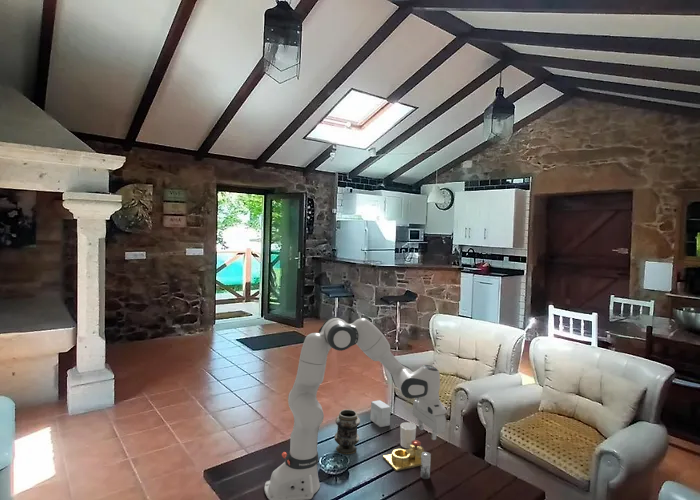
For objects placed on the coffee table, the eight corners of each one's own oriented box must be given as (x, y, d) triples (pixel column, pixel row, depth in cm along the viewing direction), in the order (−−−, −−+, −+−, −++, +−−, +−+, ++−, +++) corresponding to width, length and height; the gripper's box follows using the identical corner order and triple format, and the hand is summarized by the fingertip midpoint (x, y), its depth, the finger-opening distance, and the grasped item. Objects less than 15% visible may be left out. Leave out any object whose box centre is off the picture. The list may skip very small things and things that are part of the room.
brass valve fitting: (395, 471, 195) (396, 454, 194) (382, 457, 206) (383, 441, 205) (428, 463, 202) (429, 447, 202) (414, 451, 213) (415, 435, 212)
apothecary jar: (358, 456, 206) (360, 419, 205) (333, 455, 206) (334, 417, 205) (358, 443, 218) (360, 408, 217) (334, 442, 218) (335, 407, 217)
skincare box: (390, 425, 239) (391, 406, 239) (380, 427, 236) (381, 408, 236) (379, 417, 249) (380, 399, 248) (369, 419, 245) (370, 401, 245)
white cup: (397, 446, 217) (397, 426, 216) (402, 439, 224) (403, 420, 223) (412, 451, 213) (413, 431, 212) (417, 444, 220) (418, 424, 219)
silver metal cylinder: (423, 479, 189) (424, 457, 188) (418, 474, 193) (419, 452, 192) (431, 478, 191) (432, 455, 190) (426, 473, 194) (427, 451, 194)
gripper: (409, 395, 198) (408, 424, 199) (436, 413, 179) (434, 446, 180) (421, 393, 200) (420, 422, 201) (448, 411, 182) (447, 443, 183)
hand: (427, 434), depth 191 cm, fingers open, 8 cm apart
